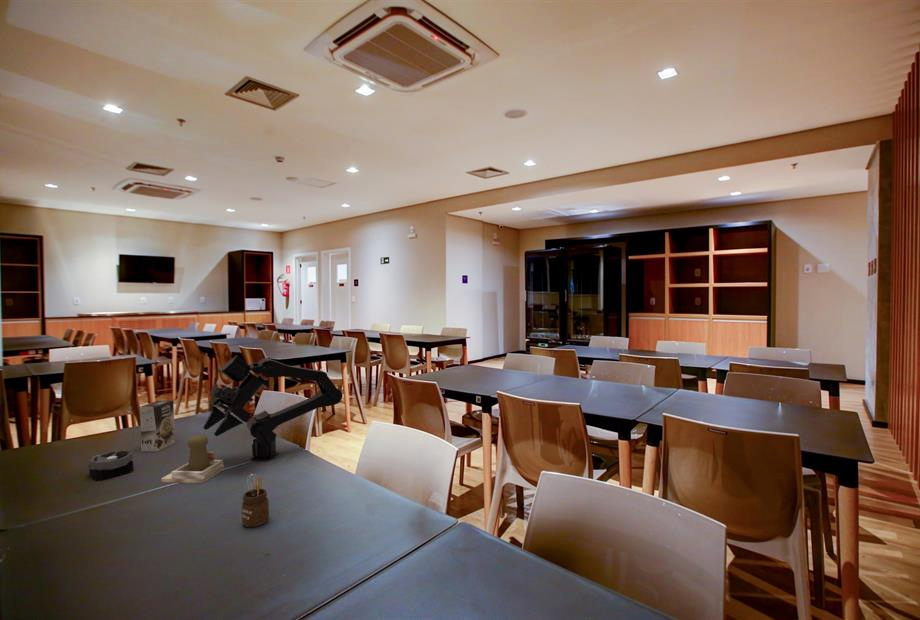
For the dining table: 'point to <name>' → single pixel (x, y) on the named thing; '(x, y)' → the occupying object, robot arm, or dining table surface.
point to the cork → (198, 453)
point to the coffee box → (157, 425)
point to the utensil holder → (255, 505)
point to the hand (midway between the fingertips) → (209, 432)
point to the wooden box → (195, 472)
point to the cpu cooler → (110, 465)
